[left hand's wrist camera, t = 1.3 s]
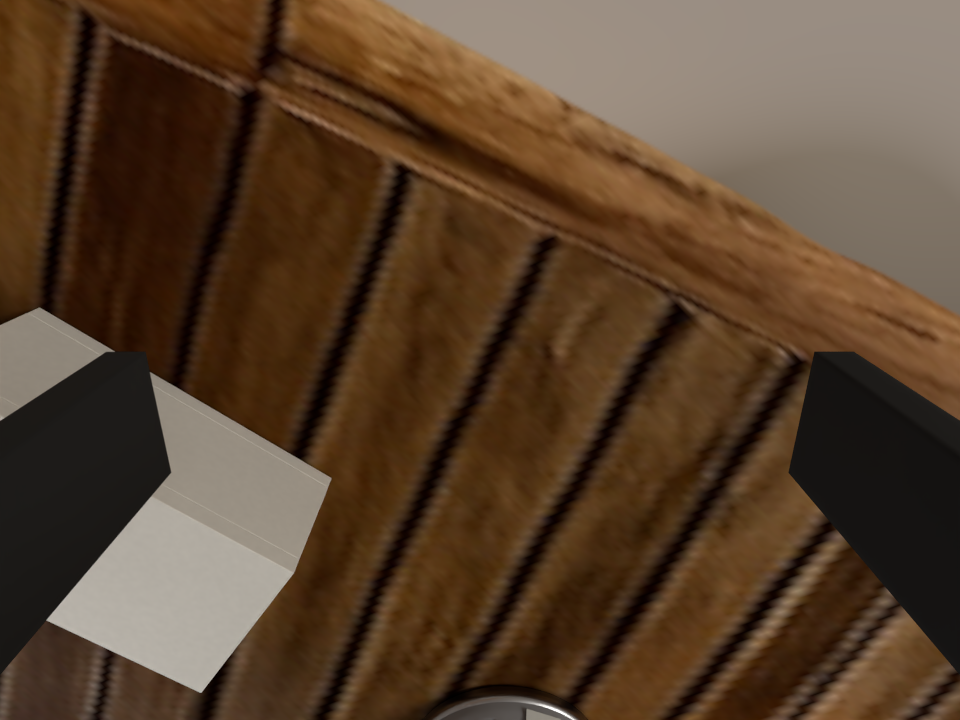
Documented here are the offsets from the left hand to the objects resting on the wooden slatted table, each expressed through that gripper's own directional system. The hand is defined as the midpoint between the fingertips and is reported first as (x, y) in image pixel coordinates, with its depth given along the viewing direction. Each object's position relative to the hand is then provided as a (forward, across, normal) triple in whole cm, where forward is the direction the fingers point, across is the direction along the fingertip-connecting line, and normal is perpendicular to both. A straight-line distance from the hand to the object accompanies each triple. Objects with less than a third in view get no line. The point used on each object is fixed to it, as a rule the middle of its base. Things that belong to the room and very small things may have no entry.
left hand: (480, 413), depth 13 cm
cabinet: (+24, +21, +15) cm, 35 cm away
